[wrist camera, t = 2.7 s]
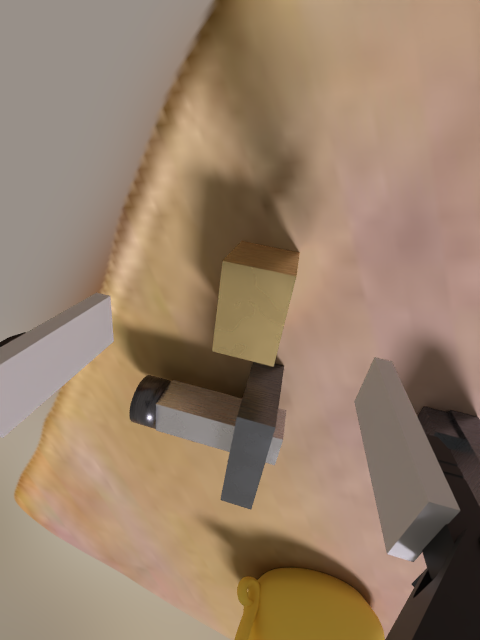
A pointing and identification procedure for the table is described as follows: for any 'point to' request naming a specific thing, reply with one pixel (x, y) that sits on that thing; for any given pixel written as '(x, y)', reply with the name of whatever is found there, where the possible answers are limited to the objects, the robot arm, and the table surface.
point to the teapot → (304, 608)
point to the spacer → (254, 301)
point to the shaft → (194, 413)
